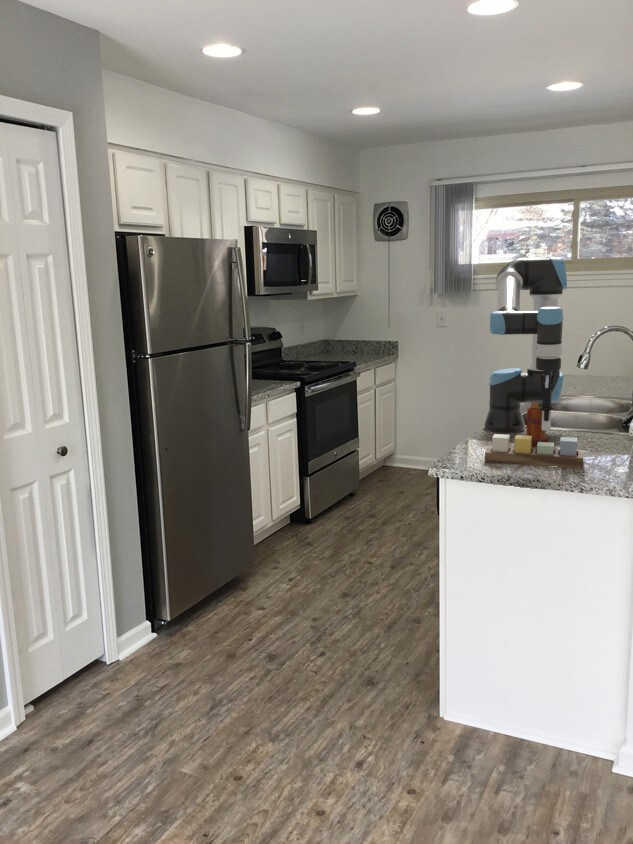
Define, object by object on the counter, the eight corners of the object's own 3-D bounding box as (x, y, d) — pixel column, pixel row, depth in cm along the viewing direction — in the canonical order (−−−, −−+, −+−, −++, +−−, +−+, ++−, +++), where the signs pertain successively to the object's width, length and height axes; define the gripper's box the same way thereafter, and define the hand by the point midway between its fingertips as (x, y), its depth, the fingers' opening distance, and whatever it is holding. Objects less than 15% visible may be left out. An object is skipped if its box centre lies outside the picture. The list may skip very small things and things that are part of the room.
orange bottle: (549, 452, 245) (550, 408, 242) (524, 451, 247) (525, 408, 244) (544, 441, 259) (546, 400, 256) (521, 441, 261) (522, 400, 258)
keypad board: (488, 455, 244) (488, 445, 244) (582, 460, 234) (583, 449, 233) (484, 462, 235) (485, 452, 234) (582, 468, 225) (583, 457, 224)
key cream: (494, 448, 241) (494, 434, 240) (509, 449, 239) (509, 434, 238) (492, 452, 236) (492, 437, 235) (507, 453, 234) (508, 438, 233)
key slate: (560, 452, 233) (560, 437, 232) (576, 453, 232) (577, 437, 231) (559, 456, 229) (560, 440, 228) (576, 457, 227) (577, 441, 226)
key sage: (537, 456, 236) (538, 441, 235) (553, 457, 235) (554, 442, 233) (536, 460, 232) (537, 445, 231) (552, 461, 230) (553, 446, 229)
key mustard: (515, 449, 238) (516, 435, 237) (531, 450, 237) (531, 435, 235) (514, 453, 234) (514, 438, 233) (530, 454, 232) (530, 439, 231)
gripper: (537, 353, 233) (535, 424, 239) (534, 360, 221) (532, 434, 227) (561, 353, 231) (559, 425, 236) (560, 360, 219) (557, 435, 224)
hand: (546, 429), depth 232 cm, fingers closed
